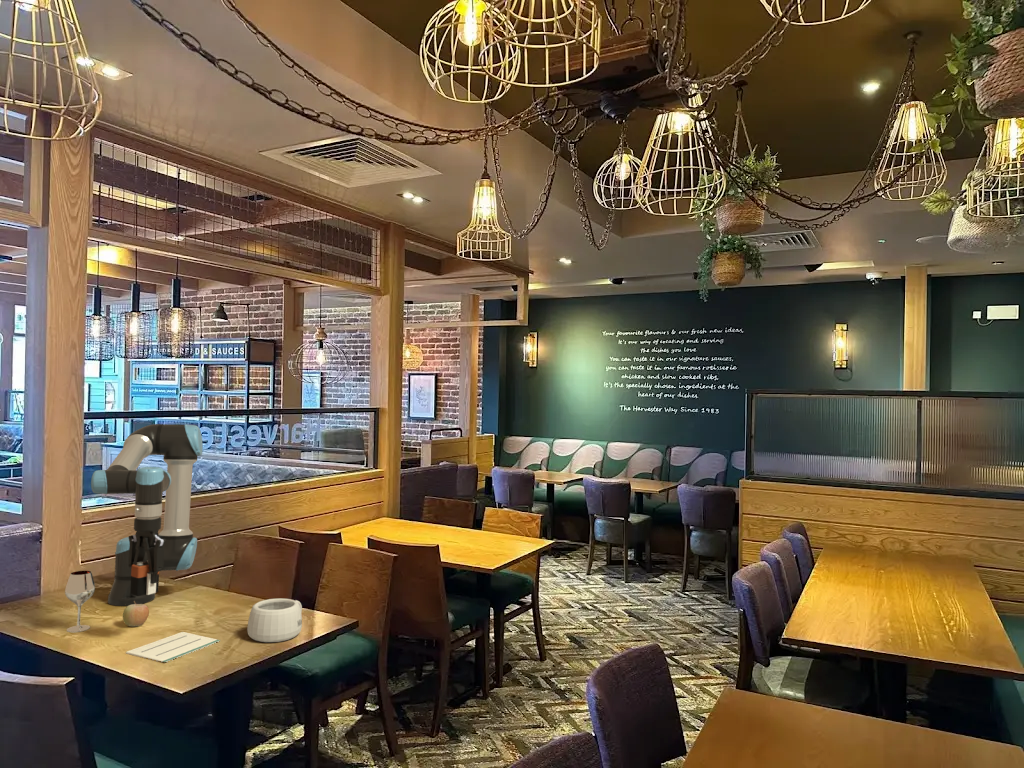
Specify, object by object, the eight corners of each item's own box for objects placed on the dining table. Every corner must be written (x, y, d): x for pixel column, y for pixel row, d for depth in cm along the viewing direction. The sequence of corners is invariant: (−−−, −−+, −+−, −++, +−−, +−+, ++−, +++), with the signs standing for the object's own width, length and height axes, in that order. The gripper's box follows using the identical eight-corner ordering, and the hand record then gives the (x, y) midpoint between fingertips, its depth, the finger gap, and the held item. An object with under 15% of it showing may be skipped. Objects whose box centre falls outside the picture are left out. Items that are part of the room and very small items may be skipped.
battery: (158, 592, 215) (160, 560, 215) (136, 596, 209) (138, 564, 209) (151, 589, 217) (153, 557, 217) (129, 594, 212) (131, 561, 212)
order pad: (182, 632, 220) (182, 631, 220) (220, 641, 213) (220, 640, 213) (125, 653, 201) (125, 651, 201) (164, 663, 195) (164, 661, 195)
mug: (278, 648, 210) (280, 615, 210) (235, 639, 216) (236, 607, 216) (321, 627, 230) (322, 597, 230) (280, 619, 236) (281, 590, 236)
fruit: (121, 630, 220) (122, 605, 220) (123, 623, 227) (124, 598, 227) (147, 627, 223) (149, 602, 224) (149, 620, 230) (150, 596, 230)
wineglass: (78, 634, 215) (81, 576, 215) (56, 631, 217) (59, 574, 217) (99, 626, 223) (102, 570, 223) (77, 623, 225) (80, 568, 225)
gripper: (116, 516, 214) (113, 591, 213) (158, 522, 207) (154, 599, 206) (138, 512, 221) (135, 585, 220) (179, 518, 213) (175, 593, 213)
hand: (144, 592), depth 213 cm, fingers closed on battery, 5 cm apart
